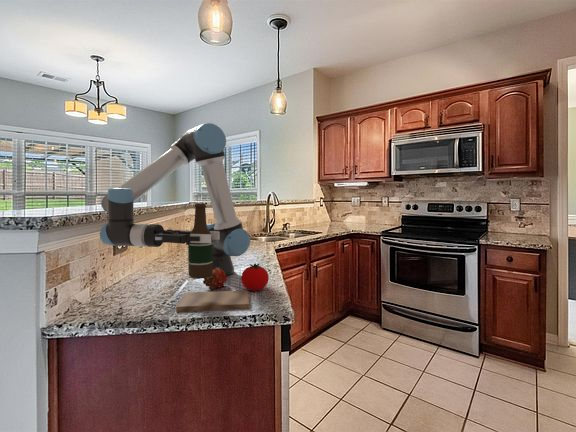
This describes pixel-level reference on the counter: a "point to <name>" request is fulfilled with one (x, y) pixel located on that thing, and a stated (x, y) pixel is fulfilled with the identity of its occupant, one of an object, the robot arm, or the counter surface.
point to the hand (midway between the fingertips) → (215, 237)
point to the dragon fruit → (216, 279)
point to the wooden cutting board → (213, 301)
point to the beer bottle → (200, 247)
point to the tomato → (254, 277)
